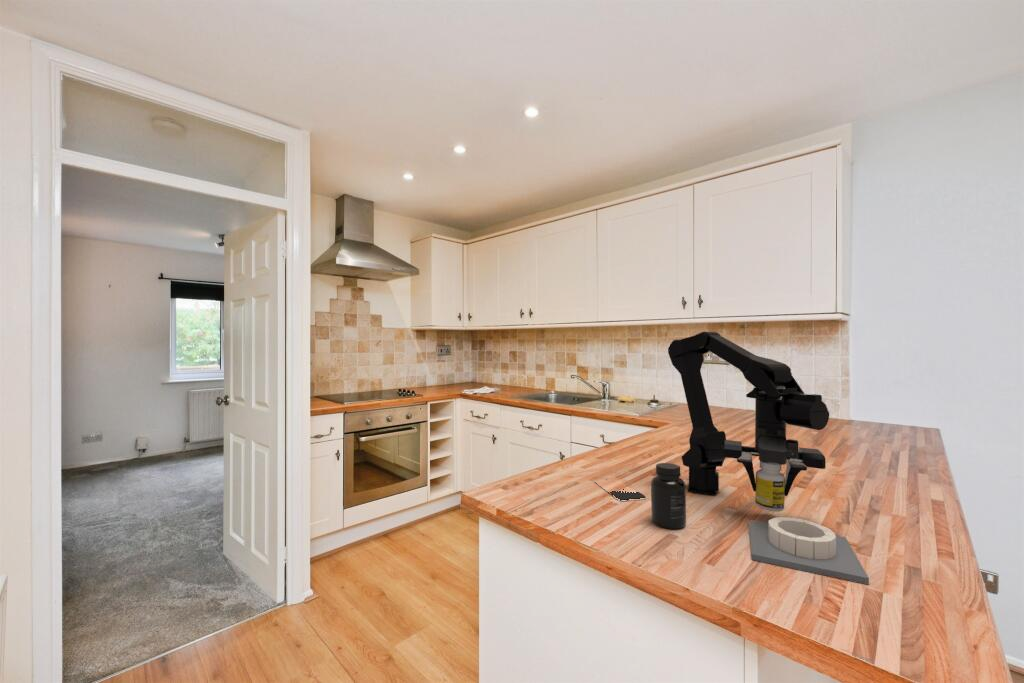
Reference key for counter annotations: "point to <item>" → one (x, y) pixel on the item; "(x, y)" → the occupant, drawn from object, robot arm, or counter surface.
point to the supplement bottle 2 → (770, 487)
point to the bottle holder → (805, 548)
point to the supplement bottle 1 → (668, 497)
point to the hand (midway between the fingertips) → (769, 493)
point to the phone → (627, 495)
